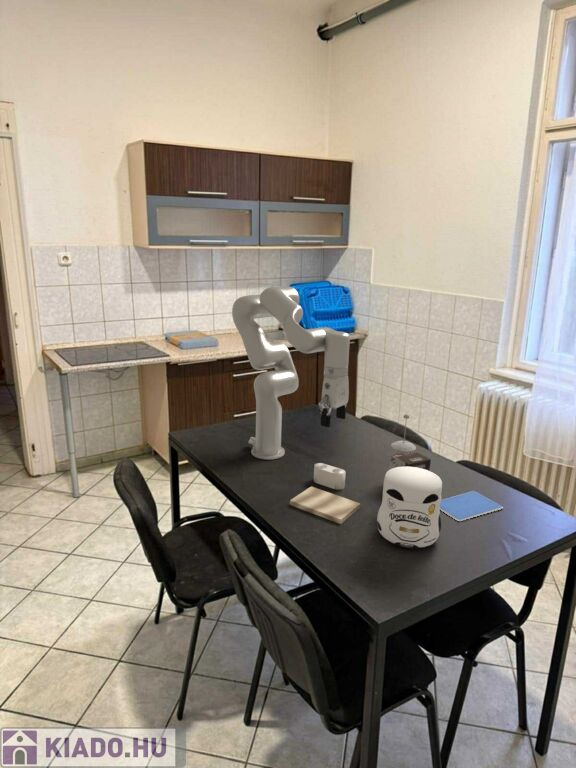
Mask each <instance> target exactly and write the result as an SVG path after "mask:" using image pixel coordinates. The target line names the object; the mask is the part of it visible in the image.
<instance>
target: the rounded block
mask: <svg viewBox="0 0 576 768" xmlns="http://www.w3.org/2000/svg"><path fill="white" fill-rule="evenodd" d="M346 473H347V472H346V470H344V469H342V468H339V467H336V466H332V465H329V464H327V463H323V462H318V463H314V468H313V482H314V483H315V484H319V485H321V486H324V487H328V488H329V489H334V490H337V491H340V490H341V491H342V490H344V489H345V487H346V486H345V484H346Z"/></svg>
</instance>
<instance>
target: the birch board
mask: <svg viewBox="0 0 576 768" xmlns="http://www.w3.org/2000/svg"><path fill="white" fill-rule="evenodd" d="M289 505H290V506H292V507H295V508H297V509H299V510H302V511H305V512H308V513H311V514H314V515H316V516H318V517H321V518H324V519H326V520H328V521H331V522H334V523H337V524H338V525H339V524H340V525H341V524H343V523H344V522H345V521H346V520H348V518H350V517H351V516H353V514H355V513H356V512H357V511H358V510H360V508H361V503H360V502H357V501H354V500H351V499H348V498H346V497H344V496H340V495H337V494H334V493H332V492H330V491H325V490H322V489H320V488H317V487H314V486H310V487H308V488H306V489H305V490H304V491H302V492H301V493H299V494H297V495H296V496H294V497H293V498H291V499H290V500H289Z"/></svg>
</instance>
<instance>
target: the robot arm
mask: <svg viewBox="0 0 576 768" xmlns="http://www.w3.org/2000/svg"><path fill="white" fill-rule="evenodd" d="M299 304H300V295H299V293H298V291H297V290H296V289H295V288H294V287H292V286H288V285H287V286H286V285H283V286H271V287H268V288H267V287H266V288H265V289H263V290H262V292H261V293H260V294H251V295H250V294H249V295H248V294H247V295H244V296H241V297H238V298H237V299H236V300H235V301H234V302H233V305H232V309H231V314H232V315H231V317H232V320H233V323H234V325H235V328H236V330H237V331H238V333H239V335H240V337H241V340H242V343H243V345H244V349H245V352H246V355H247V358H248V360H249V364H250V366H251V367H252V369H254V370H257V371H262V370H263V371H265V370H269V369H274V370H270V371H266V372H261V373H260V374H258V375H257V376H256V377H255V378H254V382H253V389H254V395H255V396H254V397H255V437H254V436H250V437H249V440H248V444H250V445H252V448H251V451H250V452H251V455H252V456H253V457H255V458H257V459H260V460H277V459H280V458H282V457H283V456H284V455H285V448H283V447H282V419H283V415H282V414H283V409H282V405H281V403H280V401H279V399H278V398H279V397H282V396H284V395H285V396H286V395H289V394H292V393H295V392H296V391H297V390H298V388H299V383H300V382H299V377H298V373H297V370H296V366H295V365H294V361H293V358H292V355H291V352H290V350H289V349H288V347H287V345H286V344H284V342H280V341H272V342H269V341H268V339H267V337H266V334H265V332H264V329H263V328H262V327H261V326H260V325H259V324H258V322H256V321H255V319H263V318H272V317H273V318H274V319H276V320H277V321H278V322H279V323H280V324H282V329H283V330H282V331H283V334H284V337H285V339H286V341H287V342H288V343H289V344H290V345H291V346H292V347H294V349H296V350H297V351H298V352H300V353H302V354H313V353H319V352H324V363H323V364H324V365H323V381H322V390H321V400H320V401H319V402H318V408H319V409H318V410H319V413H320V426H322V427H326V428H330V427H331V419H332V418H331V417H332V416H331V415H332V414H331V412H332V409H333V410H336V417H335V418H337V419H341V420H346V413H347V406H348V402H349V395H350V390H349V389H350V387H349V385H350V384H349V383H350V382H349V376H348V375H349V360H350V359H349V357H350V344H351V343H350V342H351V338H350V334H349V333H347V332H345V331H338V330H335V329H333V328H331V327H327V326H324V327H316V328H308V329H305V328H304V327H302V326H301V325H300V324H299V323H300V322H301V320H302V318H303V316H304V310H303V308H302V306H301V305H299Z"/></svg>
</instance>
